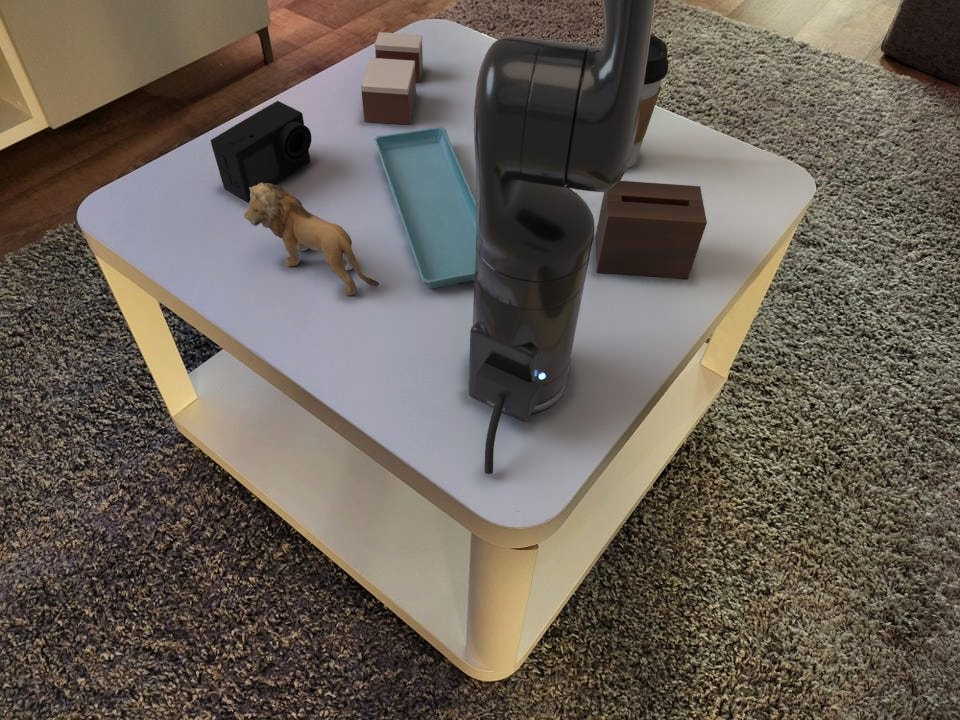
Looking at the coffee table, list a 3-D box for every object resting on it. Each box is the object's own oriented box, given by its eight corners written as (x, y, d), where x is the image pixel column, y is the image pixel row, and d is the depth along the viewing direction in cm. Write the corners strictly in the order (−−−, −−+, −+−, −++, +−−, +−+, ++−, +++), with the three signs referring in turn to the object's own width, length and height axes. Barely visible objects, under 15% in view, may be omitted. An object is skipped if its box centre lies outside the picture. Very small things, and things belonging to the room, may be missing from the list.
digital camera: (255, 208, 88) (242, 157, 83) (223, 189, 90) (209, 139, 85) (318, 165, 94) (310, 115, 88) (287, 149, 96) (277, 99, 90)
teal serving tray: (506, 281, 82) (507, 264, 80) (423, 297, 80) (422, 280, 78) (444, 142, 98) (444, 125, 96) (374, 152, 96) (372, 136, 94)
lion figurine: (249, 262, 82) (230, 195, 76) (276, 233, 86) (261, 166, 79) (367, 304, 79) (359, 238, 72) (391, 272, 82) (386, 206, 75)
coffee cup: (570, 163, 96) (586, 50, 84) (595, 129, 100) (614, 18, 89) (633, 184, 93) (658, 70, 82) (655, 148, 98) (683, 37, 86)
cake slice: (419, 82, 106) (418, 47, 102) (377, 80, 107) (374, 44, 103) (423, 69, 109) (422, 34, 105) (381, 66, 109) (378, 31, 105)
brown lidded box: (409, 125, 100) (407, 89, 96) (364, 122, 100) (360, 85, 96) (416, 96, 104) (414, 60, 100) (373, 93, 104) (369, 57, 100)
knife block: (688, 279, 83) (707, 222, 77) (596, 272, 83) (608, 215, 77) (682, 242, 87) (700, 185, 80) (595, 236, 87) (606, 179, 81)
